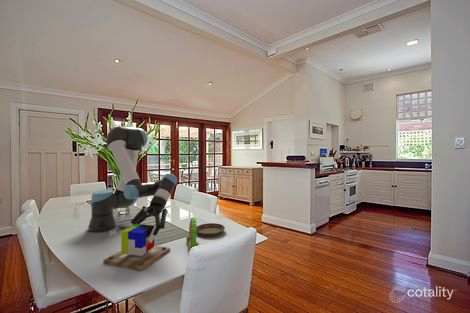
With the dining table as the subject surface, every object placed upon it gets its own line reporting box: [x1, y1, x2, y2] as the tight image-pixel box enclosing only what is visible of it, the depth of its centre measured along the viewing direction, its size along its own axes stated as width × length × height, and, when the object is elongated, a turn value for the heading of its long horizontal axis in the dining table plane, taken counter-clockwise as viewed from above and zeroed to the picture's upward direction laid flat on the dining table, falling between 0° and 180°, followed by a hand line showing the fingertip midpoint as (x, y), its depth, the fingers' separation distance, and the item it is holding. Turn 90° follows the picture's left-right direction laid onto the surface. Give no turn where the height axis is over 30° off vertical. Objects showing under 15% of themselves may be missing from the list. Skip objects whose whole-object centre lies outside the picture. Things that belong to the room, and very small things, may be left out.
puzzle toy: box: [120, 223, 155, 256], centre depth 105 cm, size 10×10×10 cm
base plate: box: [103, 244, 171, 272], centre depth 106 cm, size 20×20×2 cm
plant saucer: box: [197, 222, 226, 238], centre depth 138 cm, size 18×18×3 cm
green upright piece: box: [185, 217, 200, 252], centre depth 117 cm, size 16×5×15 cm, turn 17°
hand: (139, 240), depth 106 cm, fingers closed on puzzle toy, 10 cm apart
